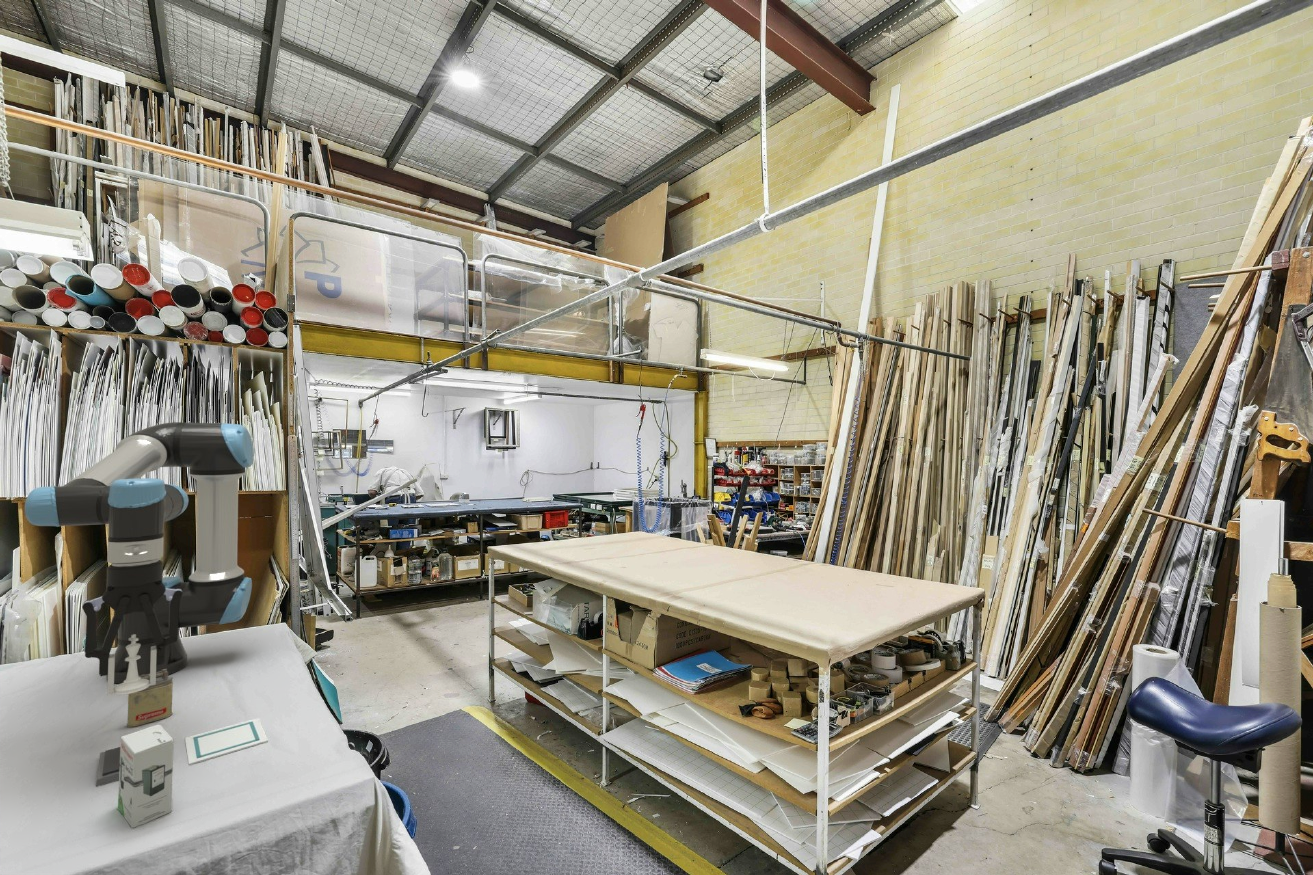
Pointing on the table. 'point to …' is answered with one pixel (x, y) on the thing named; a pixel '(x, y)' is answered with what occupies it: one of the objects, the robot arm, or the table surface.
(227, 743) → the print card
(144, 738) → the ink box
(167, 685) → the lighter
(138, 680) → the chess piece
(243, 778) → the table surface
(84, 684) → the table surface
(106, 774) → the ink pad
